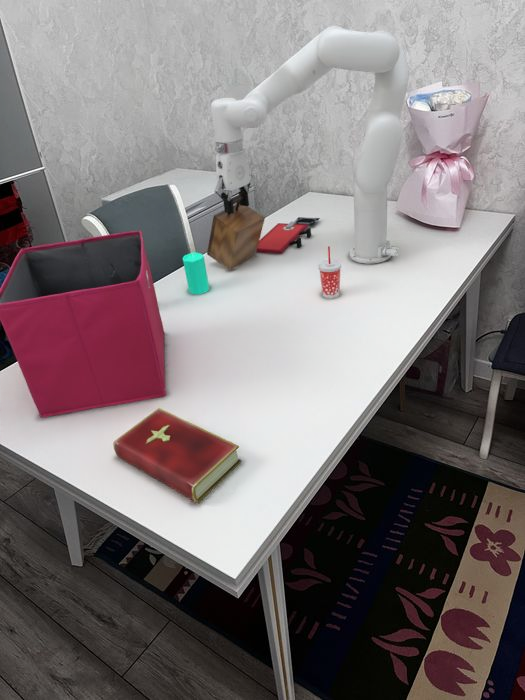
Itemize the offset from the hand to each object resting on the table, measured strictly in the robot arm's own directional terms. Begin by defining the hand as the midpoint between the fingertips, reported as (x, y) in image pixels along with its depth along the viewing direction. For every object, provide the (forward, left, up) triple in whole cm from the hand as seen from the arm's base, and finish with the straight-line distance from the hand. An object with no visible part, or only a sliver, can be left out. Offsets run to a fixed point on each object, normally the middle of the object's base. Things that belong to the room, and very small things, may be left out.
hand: (237, 208), depth 166 cm
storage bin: (-10, +62, -18) cm, 65 cm away
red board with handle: (0, -25, -18) cm, 31 cm away
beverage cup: (-35, +5, -18) cm, 40 cm away
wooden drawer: (-3, 0, -9) cm, 9 cm away
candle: (+1, +20, -18) cm, 27 cm away
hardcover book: (-46, +74, -18) cm, 89 cm away
